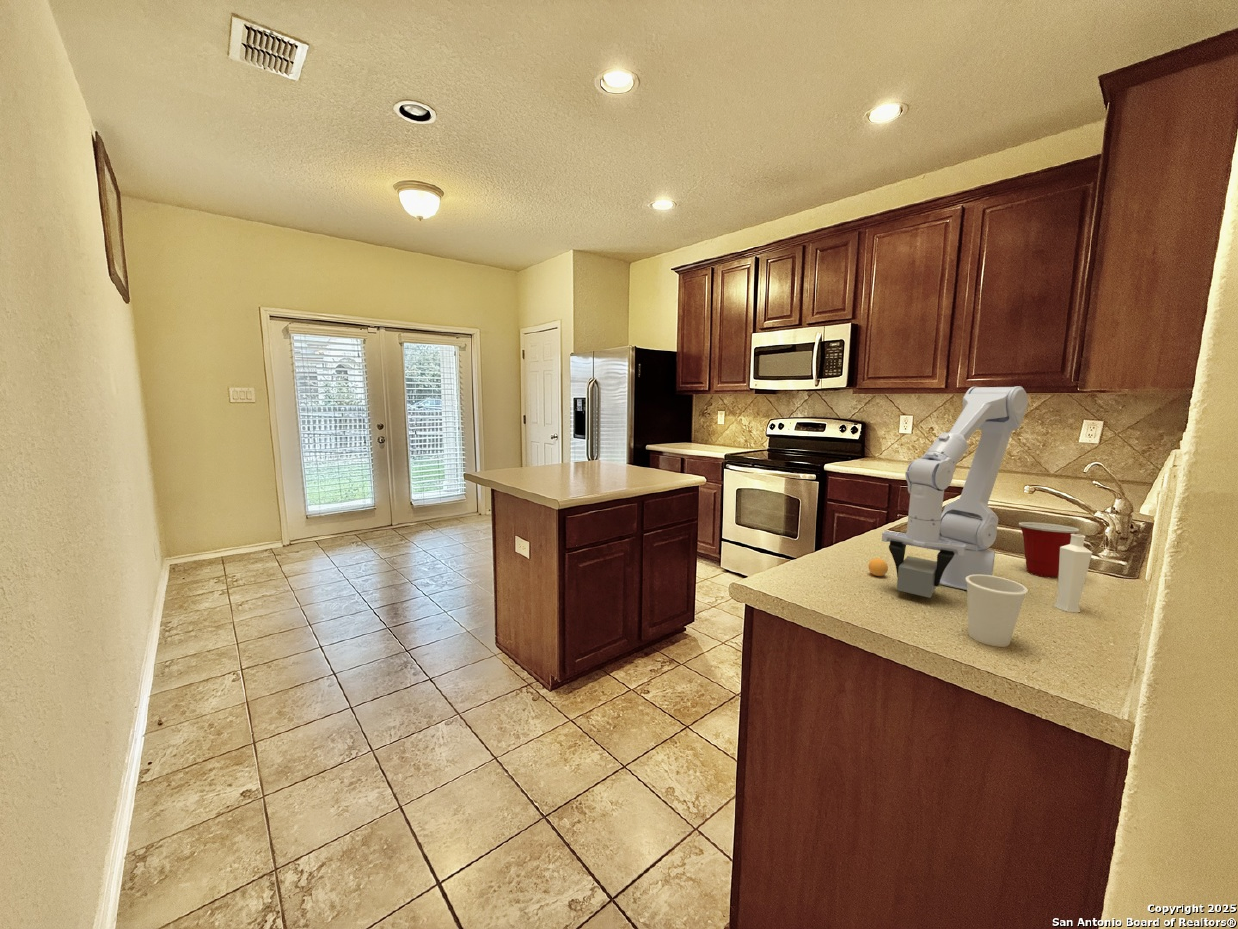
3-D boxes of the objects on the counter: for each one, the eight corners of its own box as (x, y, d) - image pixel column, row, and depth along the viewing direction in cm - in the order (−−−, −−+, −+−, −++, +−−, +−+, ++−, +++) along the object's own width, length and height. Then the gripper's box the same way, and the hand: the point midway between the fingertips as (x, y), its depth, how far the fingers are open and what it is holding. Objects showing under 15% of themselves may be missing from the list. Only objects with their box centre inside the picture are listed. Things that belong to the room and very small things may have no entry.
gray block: (937, 584, 103) (940, 562, 102) (930, 597, 96) (933, 573, 96) (905, 577, 107) (907, 556, 106) (896, 589, 100) (898, 566, 100)
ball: (888, 575, 113) (890, 558, 113) (884, 580, 110) (886, 563, 110) (870, 571, 116) (871, 554, 115) (865, 575, 113) (867, 559, 112)
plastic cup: (1048, 566, 121) (1055, 519, 119) (1085, 583, 110) (1093, 531, 109) (1001, 564, 122) (1007, 518, 120) (1033, 580, 111) (1040, 529, 110)
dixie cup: (1033, 648, 81) (1041, 590, 79) (991, 653, 79) (999, 594, 77) (985, 625, 89) (992, 572, 87) (947, 629, 87) (953, 575, 86)
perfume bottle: (1077, 615, 93) (1089, 540, 91) (1048, 606, 97) (1059, 534, 95) (1087, 611, 95) (1099, 537, 93) (1059, 602, 99) (1070, 531, 97)
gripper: (880, 515, 101) (875, 577, 103) (965, 527, 92) (957, 596, 94) (888, 509, 107) (883, 568, 109) (969, 520, 97) (961, 585, 99)
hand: (918, 580), depth 102 cm, fingers closed on gray block, 6 cm apart
